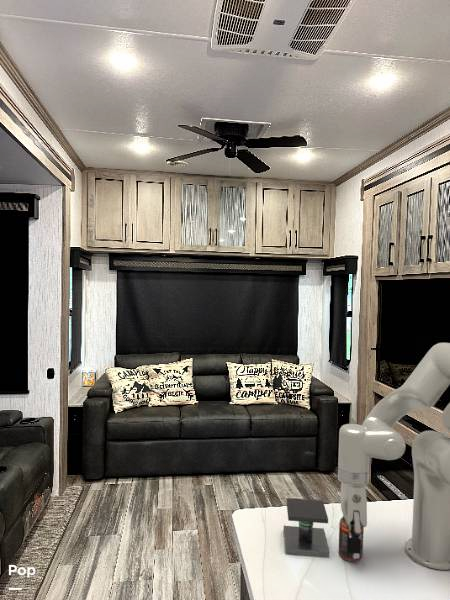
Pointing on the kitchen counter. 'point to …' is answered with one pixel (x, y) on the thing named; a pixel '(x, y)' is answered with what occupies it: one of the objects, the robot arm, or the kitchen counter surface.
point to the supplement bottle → (343, 542)
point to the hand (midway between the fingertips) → (350, 544)
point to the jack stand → (306, 528)
